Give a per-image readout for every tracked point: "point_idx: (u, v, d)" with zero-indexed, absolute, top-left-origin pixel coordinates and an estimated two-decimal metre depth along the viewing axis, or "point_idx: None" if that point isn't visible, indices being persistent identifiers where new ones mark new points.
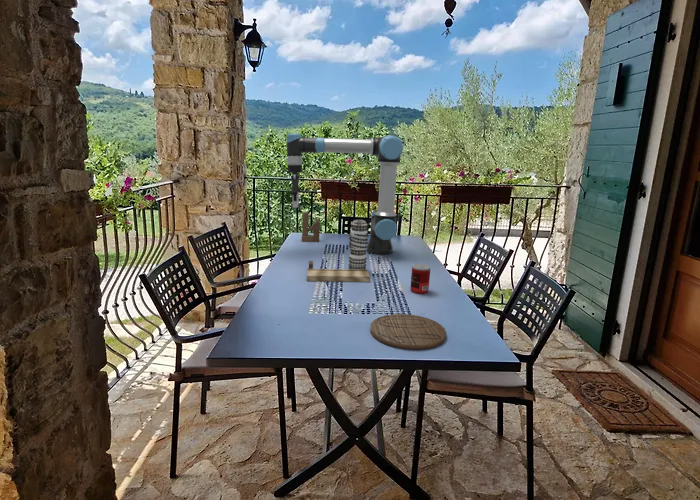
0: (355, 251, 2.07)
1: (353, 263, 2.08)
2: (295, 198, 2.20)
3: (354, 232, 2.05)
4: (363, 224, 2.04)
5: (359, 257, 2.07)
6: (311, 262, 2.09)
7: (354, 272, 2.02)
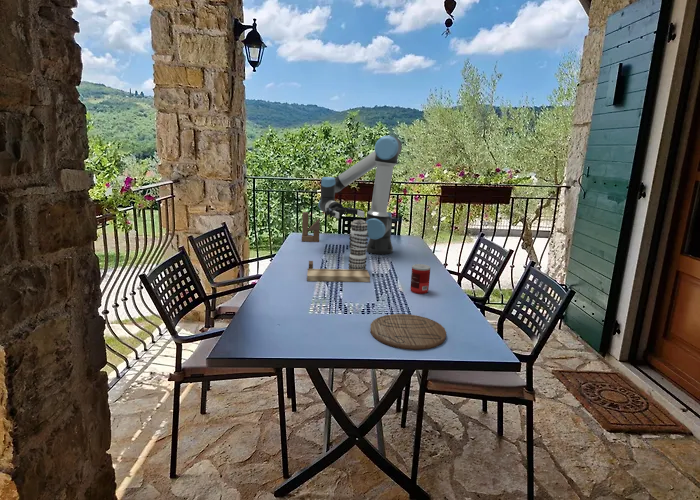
0: (355, 251, 2.07)
1: (353, 263, 2.08)
2: (331, 213, 2.15)
3: (354, 232, 2.05)
4: (363, 224, 2.04)
5: (359, 257, 2.07)
6: (311, 262, 2.09)
7: (354, 272, 2.02)
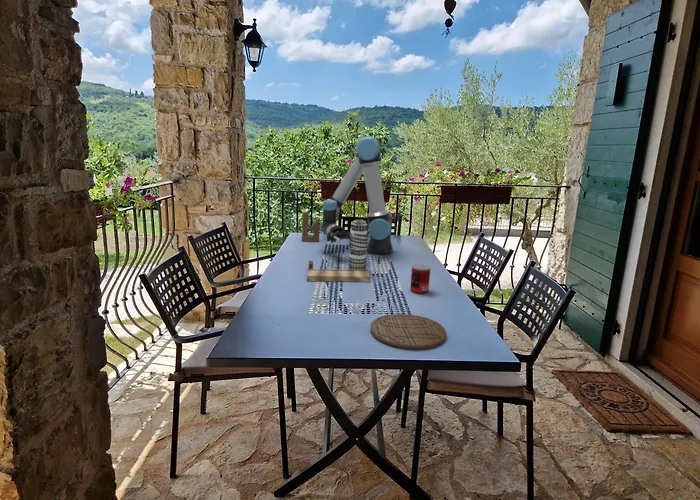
0: (355, 251, 2.07)
1: (353, 263, 2.08)
2: (332, 239, 2.14)
3: (354, 232, 2.05)
4: (363, 224, 2.04)
5: (359, 257, 2.07)
6: (311, 262, 2.09)
7: (354, 272, 2.02)
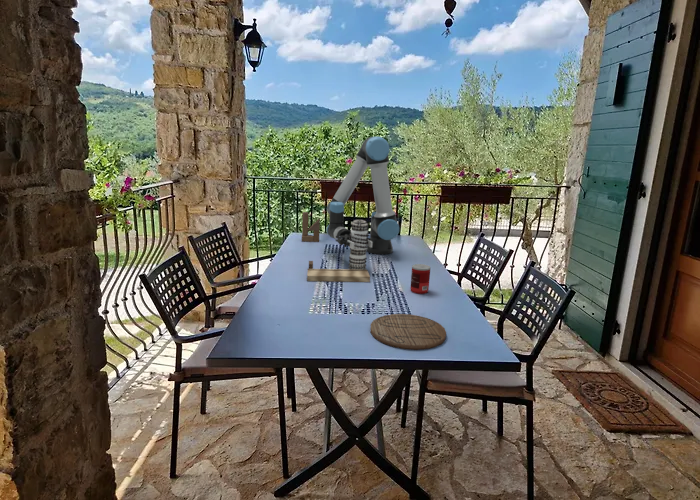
0: (355, 251, 2.07)
1: (353, 263, 2.08)
2: (346, 243, 2.07)
3: (354, 232, 2.05)
4: (363, 224, 2.04)
5: (359, 257, 2.07)
6: (311, 262, 2.09)
7: (354, 272, 2.02)
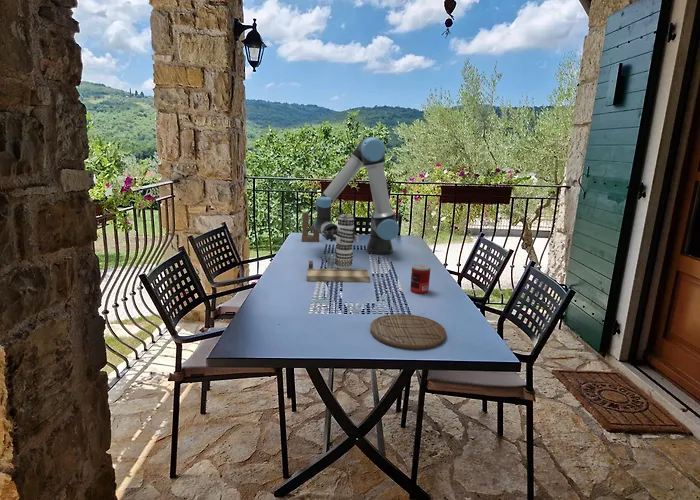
0: (341, 246, 2.05)
1: (339, 258, 2.07)
2: (332, 237, 2.05)
3: (340, 226, 2.03)
4: (349, 218, 2.03)
5: (345, 252, 2.06)
6: (311, 262, 2.09)
7: (354, 272, 2.02)
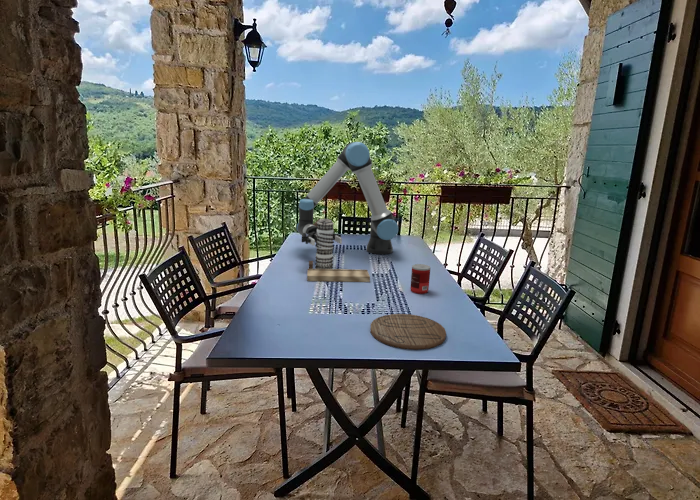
0: (321, 250, 2.05)
1: (319, 262, 2.06)
2: (307, 240, 2.05)
3: (320, 231, 2.03)
4: (329, 223, 2.03)
5: (325, 256, 2.05)
6: (311, 262, 2.09)
7: (354, 272, 2.02)
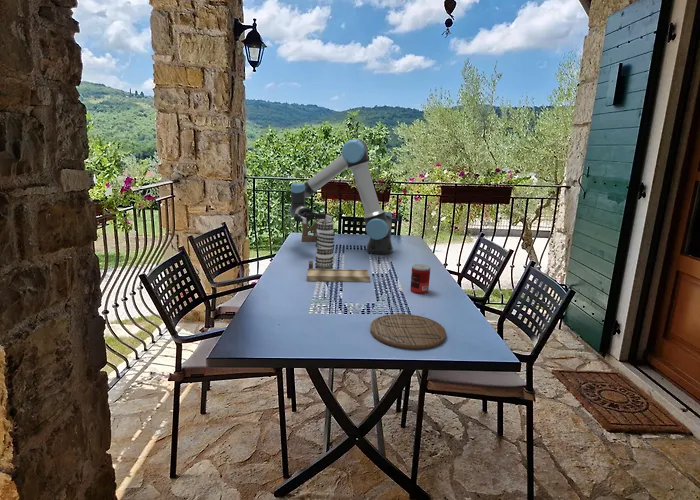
0: (321, 250, 2.05)
1: (319, 262, 2.06)
2: (299, 219, 2.17)
3: (319, 231, 2.03)
4: (328, 223, 2.03)
5: (325, 256, 2.05)
6: (311, 262, 2.09)
7: (354, 272, 2.02)
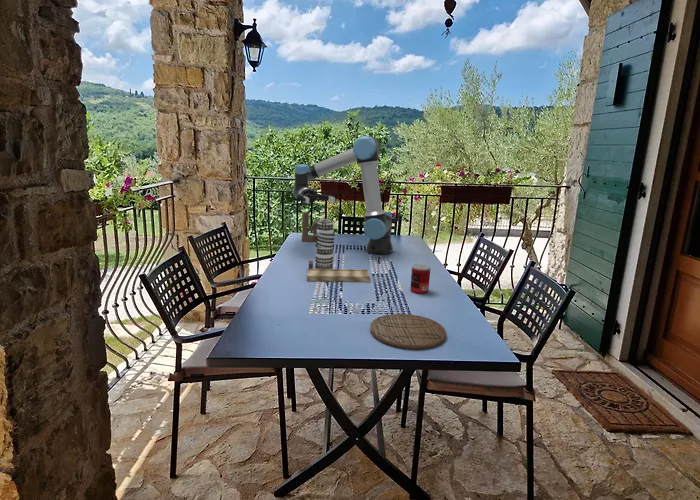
0: (321, 250, 2.05)
1: (319, 262, 2.06)
2: (302, 199, 2.17)
3: (319, 231, 2.03)
4: (328, 223, 2.03)
5: (325, 256, 2.05)
6: (311, 262, 2.09)
7: (354, 272, 2.02)
